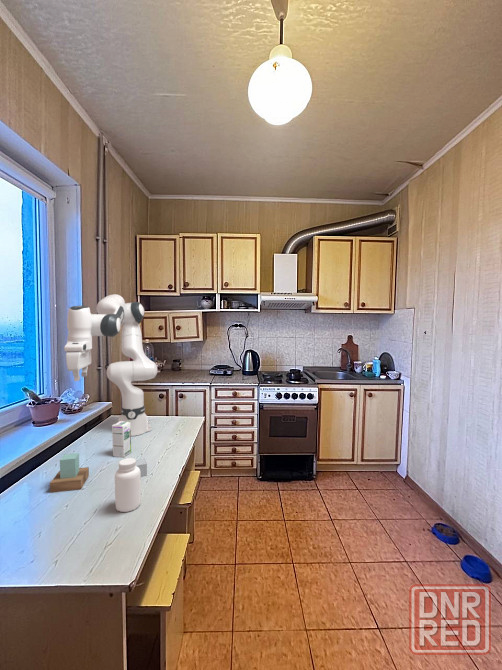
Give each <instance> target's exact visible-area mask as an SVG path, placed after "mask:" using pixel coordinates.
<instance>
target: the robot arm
mask: <svg viewBox="0 0 502 670" xmlns="http://www.w3.org/2000/svg"><path fill="white" fill-rule="evenodd" d="M96 312H97V314H96V313H95V314H94V313H91V309H90V307H89V306H87V305H73V306H71V307H69V308H68V311H67V318H66V319H67V320H66V328H67V331H68V333H67V334H68V335H67V336H66V337H67V338H66V339H67V341H66V344H65V345H64V347H63V348H64V352H66V353H65V361H66V362H65V363H66V368H67V371H68V372H72V375H73V380H74V382H79V381H80V380H81V378H85V377H87V376H88V370H89V369H88V368H89V367H88V366H89V365H92V349H93V337H110V338H113V337H116V336H117V335H119V333H120V330H121V334H120V335H121V341H120V343H121V344H120V345H121V349H120V350H121V353H122V354H123V355H124V356H125V357H126V358H130V359H132V360H130V361H129V360H126V361H125V360H124V361H116V362H111V363H110V364H109V365H108V367H107V369H106V377H107V379H108V380H109V381H111V382H112V383H113V384H115V385H116V387H118V389H119V391H120V394H121V404H122V405H121V412H120V413H121V415H120V416H119V417H118V422H120V421H127V422H130V424H131V437H135V436H139V435H140V436H141V435H143V434H145V433H147V432H151V431H152V426H151V424H150V422H149V421H148V415H147V414H146V412H145V411H146V407H145V404H144V403H145V400H144V399H145V398H144V397H145V396H144V390H143V389H142V388H140V387H137V386H135V385H133V384H132V383H133V382H141V381H142V382H143V381H147V380H148V381H149V380H152V379H155V378H156V376H157V374H158V366H157V364H156V363H155V361H153V360H151V359H150V358H149V357H148V356H147V355H146V353H145V351H144V347H143V334H142V330H141V325H140V324H141V323H142V321H143V319H144V318H145V307H144V306H143V304H142V303H141V302H139V301H131V302H127V303H126V301H125V299H124V297H123V296H121V295H120V294H116V293H115V294H109V295H107V296H105V297H103V298H102V299H101V300H99V301H98V303H97V305H96ZM121 326H122V328H121ZM80 370H81V376H80ZM118 422H117V423H118Z"/></svg>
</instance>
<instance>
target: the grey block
mask: <svg viewBox="0 0 502 670" xmlns="http://www.w3.org/2000/svg"><path fill="white" fill-rule="evenodd" d="M146 460H147V459H146V458H142V459H136V466H137V467H138V468H139V469H140V474H141V478H143V477H147V476H148V463H147V461H146Z"/></svg>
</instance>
